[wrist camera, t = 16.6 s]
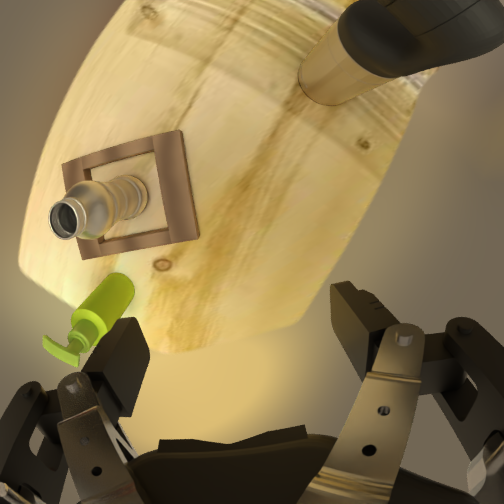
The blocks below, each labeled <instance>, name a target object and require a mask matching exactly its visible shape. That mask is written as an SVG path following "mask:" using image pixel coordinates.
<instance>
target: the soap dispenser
mask: <svg viewBox="0 0 504 504" xmlns="http://www.w3.org/2000/svg"><path fill="white" fill-rule="evenodd" d="M133 297H134V286H133V284H132V282H131V280H130V279H129V278H128V277H127V276H125V275H123V274H121V273H112V274H110V275H109V276H107V277H106V278H105V279H104V281H103V282H102V283H101V284H100V285H99V286H98V287H97V288H96V289H95V290H94V291H93V292H92V293H91V294H90V295H89V296H88V297H87V299H86V300H85V301H84V302H83V303H82V304H81V305H80V306H79V307H78V308H77V309H76V311H75V312H74V313H73V314H72V317H71V324H72V328H73V329H72V330H71V331H70V332H69V334H68V341H69V345H68V346H67V347H63V346H62V345H60V344H58V343H56V342H55V341H53V340H52V339H51V338H49V337H48V336H47V335H43V347H44V348H45V349H46V350H47V351H48V352H50V353H51V354H52V355H54V356H55V357H57V358H58V359H60V360H62V361H64V362H66V363H68V364H70V365H73V366H75V367H78V366H79V361H80V354H79V353H87V352H88V351H89V350H90V348H91V347H92V346H96V345H97V344H98V342H99V340H100V339H101V338H102V337H103V336H104V335H105V334H106V333H107V332H108V331H110V330H111V328H112V327H113V325H114V323H115V322H116V320H117V319H120V318H121V316H122V314H123V313H124V311H125V310H126V308H127V307H128V305H129V303H130V302H131V300H132V299H133Z"/></svg>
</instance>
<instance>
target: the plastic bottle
mask: <svg viewBox="0 0 504 504" xmlns="http://www.w3.org/2000/svg"><path fill="white" fill-rule="evenodd" d="M146 203H147V191H146V188H145V186H144V185H143V183H142V182H141V181H140V180H138V179H137V178H135V177H132V176H129V175H122V176H118V177H116V178H114V179H112V180H111V181H109V182H97V181H81V182H78V183H77V184H75V185H74V186H72V187H71V188H70V189H69V190H68V191H67V193H66V194H65V196H64V199H62V200H61V201H58V202H56V203H55V204H54V205H53V206H52V207H51V209H50V212H49V225H50V228H51V230H52V232H53V233H54V234H55V235H56V236H57V237H58V238H60V239H63V240H68V239H71V238H73V237H79V238H81V239H97V238H99V237H101V236H103V235H104V234H105V233H106V232H108V231H109V230H110V228H111V227H112V226H113V225H114V224H115V223H117V222H118V221H120V220H128V219H132V218H135V217H137V216H138V215H139V214H140V213H141V212H142V211H143V209H144V208H145V206H146Z"/></svg>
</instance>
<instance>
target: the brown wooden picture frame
mask: <svg viewBox="0 0 504 504" xmlns="http://www.w3.org/2000/svg"><path fill="white" fill-rule="evenodd" d="M152 151H154V152H155V159H156V165H157V171H158V177H159V183H160V188H161V194H162V199H163V204H164V209H165V214H166V219H167V224H168V228H164V229H158V230H153V231H148V232H143V233H138V234H133V235H128V236H123V237H118V238H113V239H108V240H105V239H104V235H103V236H101V237H99V238H97V239H81V238H79V237H76V239H77V243H78V247H79V250H80V254H81V257H82V260H86V259H91V258H96V257H102V256H107V255H112V254H118V253H123V252H128V251H134V250H139V249H145V248H150V247H156V246H161V245H167V244H173V243H179V242H184V241H190V240H196V239H198V238H199V235H200V234H199V229H198V224H197V218H196V213H195V208H194V202H193V196H192V191H191V185H190V179H189V173H188V167H187V161H186V154H185V148H184V141H183V134H182V131H180V130H176V131H171V132H167V133H162V134H158V135H154V136H150V137H146V138H142V139H138V140H134V141H131V142H127V143H124V144H120V145H117V146H113V147H110V148H107V149H104V150H101V151H98V152H94V153H91V154H88V155H86V156H83V157H80V158H77V159H74V160H71V161H69V162H66V163H63V164H62V171H63V177H64V183H65V189H66V193H67V191H68V190H69V189H70V188H71V187H72V186H74V185H75V184H77V183H78V182H81V181H92V178H91V172H90V169H91V168H94V167H98V166H101V165H104V164H108V163H111V162H114V161H118V160H121V159H125V158H129V157H133V156H136V155H140V154H144V153H148V152H152Z"/></svg>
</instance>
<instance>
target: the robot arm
mask: <svg viewBox="0 0 504 504" xmlns="http://www.w3.org/2000/svg"><path fill="white" fill-rule="evenodd" d="M503 43H504V7H503V5H502V4H501V3H500V1H499V0H359V1H356V2H354V3H353V4H351V5H350V6H349V7H348V8H347V9H346V10H345V11H344V12H343V13H342V14H341V16H340V17H339V18H338V19H337V20H336V21H335V23H334V24H333V25H332V26H331V28H330V29H329V30H328V31H327V32H326V34H325V35H324V36H323V37H322V38H321V40H320V41H319V42H318V43H317V45H316V46H315V47H314V48H313V50H312V51H311V52H310V53H309V55H308V56H307V57H306V59H305V60H304V61H303V62H302V64H301V66H300V68H299V72H298V80H299V83H300V86H301V88H302V89H303V91H304V92H305V93H306V95H307V96H308V97H310V98H311V99H312V100H314V101H315V102H317V103H320V104H322V105H328V106H335V105H339V104H341V103H343V102H345V101H347V100H350V99H352V98H354V97H356V96H358V95H360V94H363V93H365V92H367V91H369V90H371V89H374V88H376V87H378V86H380V85H383V84H385V83H387V82H389V81H392V80H394V79H396V78H399V77H401V76H408V75H412V74H415V73H417V72H420V71H424V70H427V69H431V68H435V67H439V66H443V65H448V64H452V63H456V62H460V61H464V60H468V59H471V58H475V57H478V56H480V55H483V54H486V53H488V52H490V51H492V50H494V49H495V48H497V47H499V46H500V45H502V44H503ZM330 303H331V322H332V326H333V330H334V332H335V334H336V336H337V337H338V339H339V341H340V343H341V345H342V346H343V348H344V350H345V352H346V354H347V355H348V357H349V359H350V361H351V363H352V365H353V366H354V368H355V370H356V372H357V374H358V376H359V377H360V379H361V381H362V383H363V384H362V386H361V389H360V391H359V393H358V396H357V398H356V401H355V403H354V405H353V407H352V410H351V412H350V414H349V416H348V418H347V421H346V423H345V425H344V427H343V429H342V431H341V433H340V435H339V437H338V438H336V437H332V436H328V435H320V434H307V432H306V428H305V425H300V426H295V427H290V428H285V429H280V430H274V431H268V432H265V433H262V434H259V435H256V436H254V437H251V438H248V439H245V440H242V441H239V442H235V443H232V444H223V443H215V442H208V441H201V440H195V439H180V440H179V439H176V440H175V439H174V440H161V439H160V440H159V445H158V449H157V450H153V451H150V452H147V453H144V454H142V455H140V456H138V454H137V453H136V451H135V449H134V447H133V446H132V444H131V442H130V441H129V439H128V437H127V435H126V434H125V432H124V430H123V428H122V426H121V425H120V423H119V422H118V420H119V417H131V416H132V412H133V409H134V406H135V403H136V400H137V397H138V394H139V391H140V388H141V384H142V381H143V378H144V375H145V372H146V369H147V367H148V364H149V360H150V352H149V348H148V345H147V343H146V340H145V338H144V335H143V333H142V330H141V328H140V325H139V323H138V321H137V319H136V318H135V317H128V318H120V319H117V320H116V322H115V323H114V325H113V327H112V328H111V330H110V331H108V332H107V333H106V334H105V335H104V336H103V337H102V338H101V339H100V340H99V342H98V344H97V345H96V347H95V349H94V350H93V353H92V354H91V355H90V357H89V358H88V360H87V362H86V364H85V365H84V367H83V369H82V370H81V372H74V373H71V374H69V375H67V376H65V377H64V378H63V379H62V380H61V381H60V383H59V384H58V386H57V389H55V390H50V391H45V390H44V389H43V388H42V386H41V385H40V383H38V382H36V381H32V382H28V383H26V384H24V385H23V386H21V387H20V388H19V389H18V391H17V392H16V394H15V395H14V397H13V399H12V401H11V402H10V404H9V405H8V407H7V409H6V410H5V412H4V414H3V416H2V418H1V419H0V504H59V501H60V497H61V493H62V490H63V486H64V482H65V479H66V475H67V472H68V468H69V470H70V473H71V476H72V479H73V482H74V485H75V487H76V490H77V493H78V495H79V498H80V500H81V501H80V502H78V503H77V504H504V347H503V346H502V345H501V344H500V343H499V342H498V341H497V340H496V339H495V338H494V337H493V336H492V335H491V334H490V333H489V332H487V331H486V330H485V329H484V328H483V327H482V326H481V325H480V324H479V323H478V322H476V321H475V320H473V319H470V318H467V317H457V318H454V319H451V320H450V321H449V322H448V323H447V325H446V329H445V332H443V333H435V334H424V332H423V331H422V329H420V328H419V327H418V326H415V325H413V324H408V323H400V322H399V321H398V320H397V319H396V318H395V317H394V316H393V314H392V313H391V312H390V311H389V310H388V309H386V308H385V307H384V305H383V304H382V303H381V302H379V300H378V299H377V298H376V297H375V296H374V294H372V293H370V292H367V291H365V290H359V291H358V290H357V289H356V288H355V287H354V285H353V284H352V283H351V282H350V281H344V282H339V283H335V284H331V286H330ZM467 375H469V376H470V377H471V379H472V380H473V381H474V382H475V384H476V386H477V390H478V391H477V390H476V389H475V387H474V386H473V384H472V383H471V382H470V381H469V379H468V378H467ZM425 394H432V395H433V397H434V398H435V400H436V401H437V403H438V405H439V406H440V408H441V410H442V411H443V413H444V415H445V416H446V418H447V420H448V421H449V423H450V425H451V426H452V428H453V430H454V432H455V433H456V435H457V437H458V438H459V440H460V442H461V444H462V446H463V447H464V449H465V451H466V453H467V455H468V456H469V458H470V460H471V463H470V465H469V467H468V470H467V479H468V487H469V493H467V492H465V491H462V490H459V489H456V488H453V487H450V486H447V485H444V484H441V483H439V482H436V481H433V480H431V479H428V478H426V477H423V476H420V475H418V474H416V473H413V472H411V471H408V470H406V469H404V468H401V467H400V465H401V462H402V459H403V455H404V452H405V449H406V446H407V442H408V438H409V435H410V431H411V427H412V423H413V419H414V414H415V410H416V406H417V400H418V396H419V395H425ZM35 427H37V428H38V429H39V430H40V431H41V433H42V434H43V435H44V439H43V441H42V444H41V446H40V449H39V451H38V454H37V456H35V455H34V454H33V453H32V452H31V450H30V447H29V440H30V438H31V436H32V433H33V431H34V429H35Z"/></svg>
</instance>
